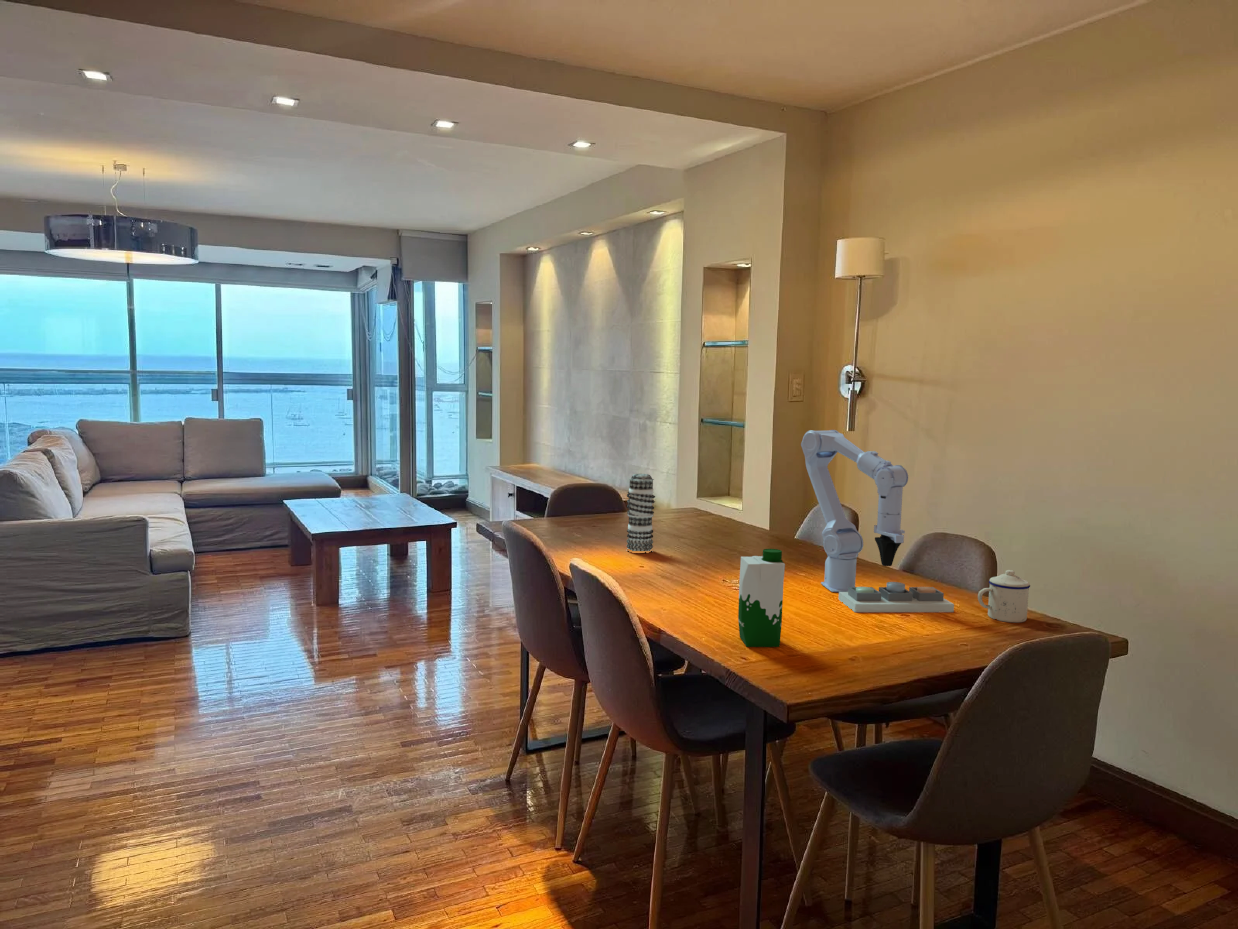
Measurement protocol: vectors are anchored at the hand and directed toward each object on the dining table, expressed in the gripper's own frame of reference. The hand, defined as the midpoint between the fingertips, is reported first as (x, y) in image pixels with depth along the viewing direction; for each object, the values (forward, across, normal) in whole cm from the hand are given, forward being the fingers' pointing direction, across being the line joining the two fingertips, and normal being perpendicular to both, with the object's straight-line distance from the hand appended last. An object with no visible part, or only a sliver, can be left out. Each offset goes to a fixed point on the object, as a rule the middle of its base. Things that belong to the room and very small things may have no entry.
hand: (886, 565), depth 218 cm
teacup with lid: (+10, -15, -23) cm, 29 cm away
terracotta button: (+7, -4, -9) cm, 12 cm away
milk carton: (+10, -33, +41) cm, 53 cm away
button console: (+9, -4, -1) cm, 10 cm away
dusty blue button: (+6, -4, -1) cm, 7 cm away
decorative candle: (+10, +62, +57) cm, 85 cm away
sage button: (+7, -4, +7) cm, 11 cm away
